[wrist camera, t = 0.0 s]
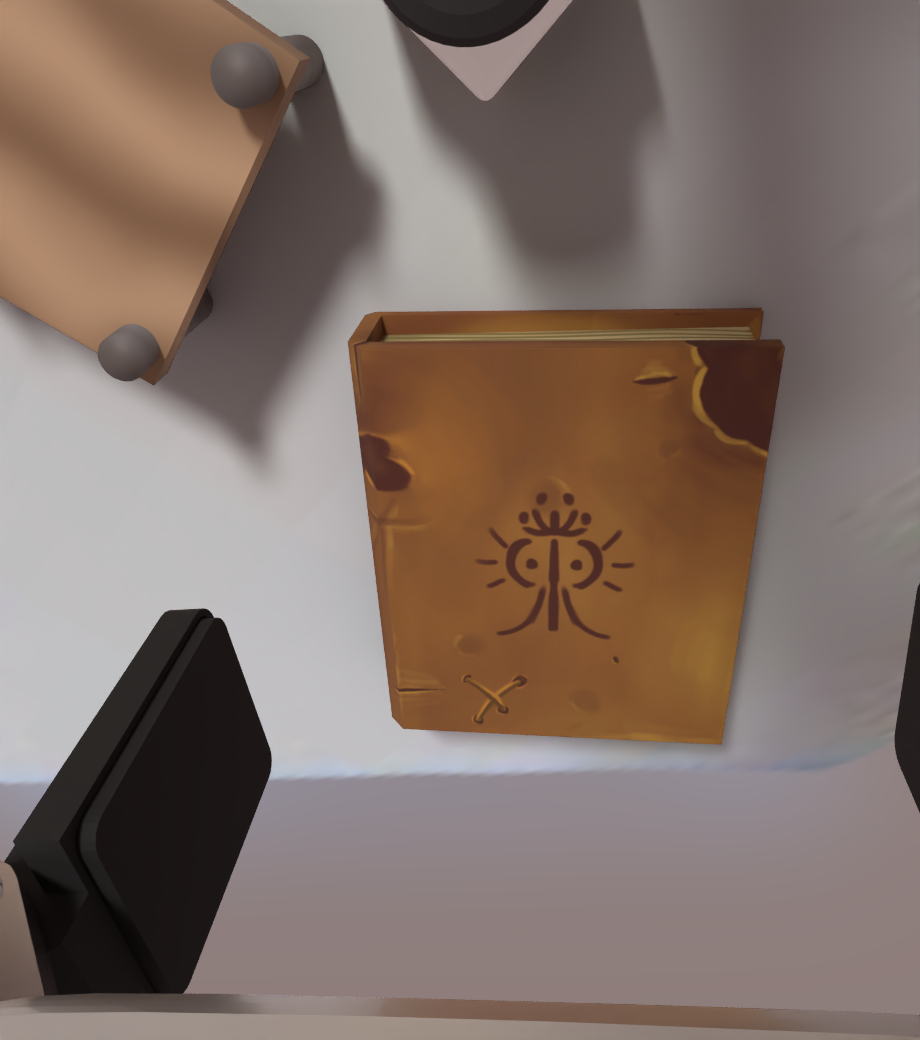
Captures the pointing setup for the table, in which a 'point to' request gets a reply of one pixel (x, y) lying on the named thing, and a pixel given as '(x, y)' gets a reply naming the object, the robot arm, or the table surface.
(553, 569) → the diary
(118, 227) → the shelf stand
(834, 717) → the table surface
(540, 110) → the table surface
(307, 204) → the table surface
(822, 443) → the table surface
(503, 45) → the medicine bottle
